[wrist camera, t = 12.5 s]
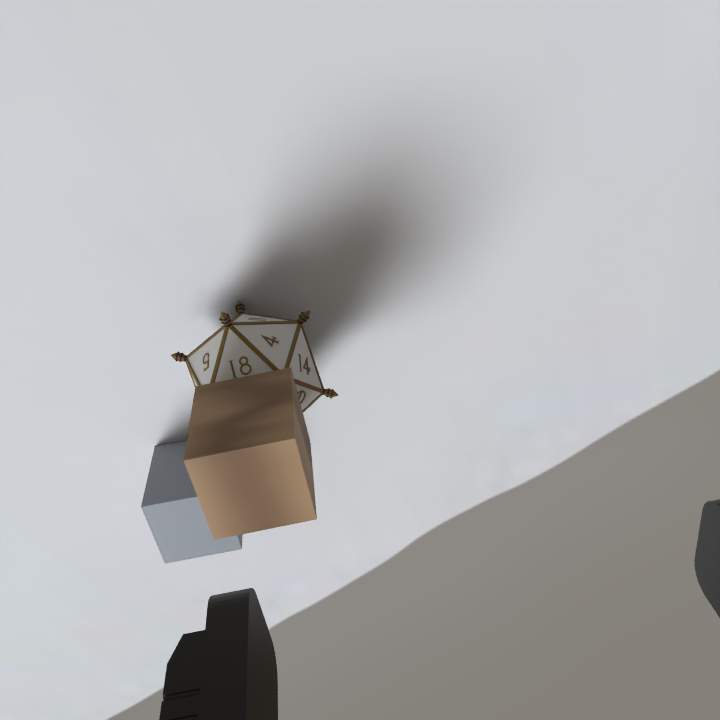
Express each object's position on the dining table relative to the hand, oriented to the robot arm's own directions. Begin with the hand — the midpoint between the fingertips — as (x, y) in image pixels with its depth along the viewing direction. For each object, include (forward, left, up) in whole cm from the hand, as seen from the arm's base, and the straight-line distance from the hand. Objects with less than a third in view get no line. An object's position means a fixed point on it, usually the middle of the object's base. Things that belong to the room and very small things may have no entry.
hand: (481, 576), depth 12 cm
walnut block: (+7, +11, -22) cm, 26 cm away
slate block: (+13, +20, -30) cm, 38 cm away
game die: (+7, +11, -30) cm, 33 cm away
